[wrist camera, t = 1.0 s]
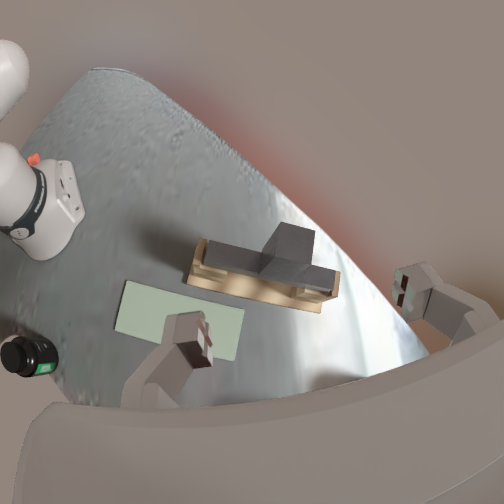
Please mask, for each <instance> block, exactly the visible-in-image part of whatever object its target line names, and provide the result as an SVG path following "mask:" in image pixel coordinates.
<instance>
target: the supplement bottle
mask: <svg viewBox="0 0 504 504" xmlns="http://www.w3.org/2000/svg"><path fill="white" fill-rule="evenodd" d="M0 356H1V362H2V364H3V366H4V367H5V369H6V370H8V371H9V372H11V373H17V374H18V375H20V376H21V377H34V376H39V375H45V374H50V373H52V372H54V371H55V370H56V368H57V366H58V361H59V357H58V352H57V350H56V348H55V346H54V344H53V343H52V342H51V341H49V340H48V339H45V338H36V337H23V336H19V337H16V338H14V339H13V340H12V341H11V342H6V343H4V344H3V345H2V347H1V352H0Z"/></svg>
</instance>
